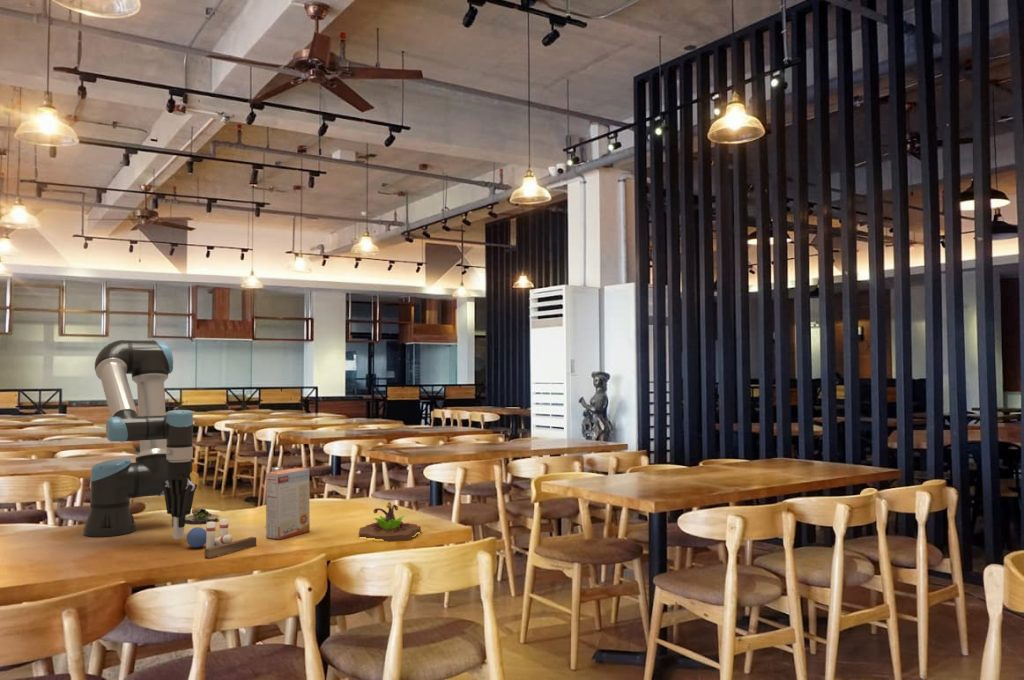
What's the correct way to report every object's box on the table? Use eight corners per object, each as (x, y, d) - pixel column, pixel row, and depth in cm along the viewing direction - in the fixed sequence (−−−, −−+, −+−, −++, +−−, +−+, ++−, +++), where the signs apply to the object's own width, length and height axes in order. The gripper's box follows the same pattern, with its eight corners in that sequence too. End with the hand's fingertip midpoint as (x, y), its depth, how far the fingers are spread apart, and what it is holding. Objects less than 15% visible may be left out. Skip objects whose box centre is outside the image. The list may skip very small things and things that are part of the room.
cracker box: (296, 530, 267) (297, 467, 267) (310, 532, 264) (310, 468, 264) (264, 538, 255) (265, 472, 255) (278, 540, 252) (278, 473, 252)
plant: (351, 542, 250) (351, 506, 251) (364, 529, 270) (365, 496, 270) (415, 543, 250) (415, 507, 250) (424, 530, 269) (424, 496, 270)
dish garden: (208, 526, 275) (208, 504, 275) (176, 524, 277) (176, 503, 277) (225, 519, 287) (226, 498, 287) (195, 518, 289) (195, 497, 289)
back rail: (204, 557, 229) (204, 549, 229) (251, 545, 245) (251, 536, 245) (209, 558, 228) (209, 549, 228) (256, 545, 244) (256, 537, 244)
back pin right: (204, 551, 236) (204, 522, 236) (210, 550, 238) (211, 521, 239) (210, 552, 235) (210, 523, 235) (217, 550, 237) (217, 522, 238)
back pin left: (217, 548, 241) (217, 519, 241) (223, 546, 243) (224, 518, 243) (223, 549, 240) (223, 520, 240) (229, 547, 242) (230, 519, 242)
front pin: (205, 541, 240) (225, 534, 236) (211, 539, 242) (231, 533, 238) (206, 549, 239) (227, 543, 236) (213, 548, 241) (233, 541, 238)
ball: (198, 539, 237) (192, 554, 239) (214, 533, 242) (208, 548, 244) (185, 526, 239) (179, 541, 241) (202, 520, 244) (196, 536, 246)
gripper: (154, 460, 247) (153, 538, 246) (184, 463, 241) (183, 542, 240) (174, 458, 253) (173, 533, 253) (204, 460, 247) (203, 537, 247)
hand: (178, 537), depth 246 cm, fingers closed
